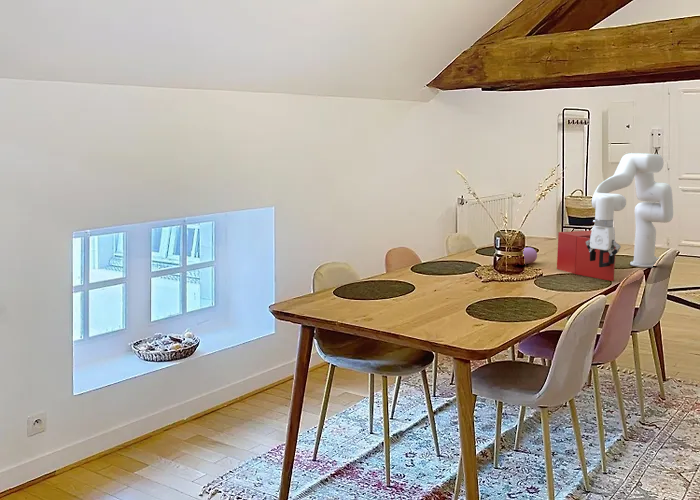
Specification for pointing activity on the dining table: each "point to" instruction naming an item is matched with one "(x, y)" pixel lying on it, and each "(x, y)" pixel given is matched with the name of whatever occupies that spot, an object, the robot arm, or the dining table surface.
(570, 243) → the cabinet
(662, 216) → the robot arm
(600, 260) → the door
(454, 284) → the dining table surface
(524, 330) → the dining table surface
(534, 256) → the toy
